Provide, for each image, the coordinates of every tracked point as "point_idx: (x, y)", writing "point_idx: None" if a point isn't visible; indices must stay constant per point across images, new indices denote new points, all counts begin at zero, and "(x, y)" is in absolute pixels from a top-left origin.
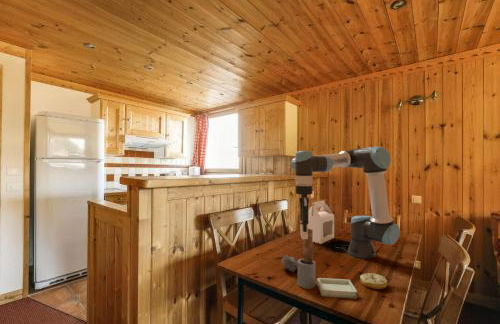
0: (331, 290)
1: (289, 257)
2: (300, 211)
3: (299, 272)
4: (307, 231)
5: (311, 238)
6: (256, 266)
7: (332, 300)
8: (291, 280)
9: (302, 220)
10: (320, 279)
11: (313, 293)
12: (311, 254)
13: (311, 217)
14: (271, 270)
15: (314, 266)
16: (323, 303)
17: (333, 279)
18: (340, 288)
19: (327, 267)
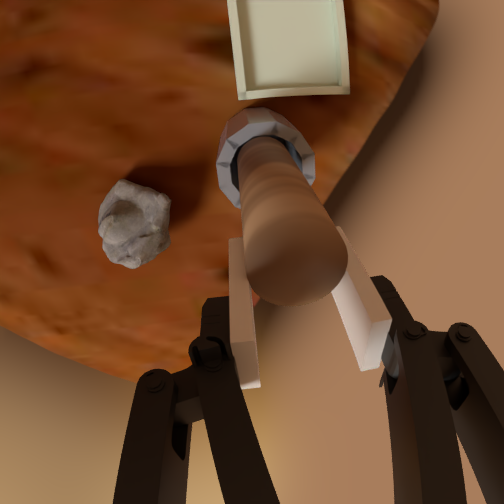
0: (347, 57)
1: (144, 245)
2: (184, 493)
3: None
4: (363, 269)
5: (314, 196)
6: (156, 322)
7: (363, 60)
8: None
9: (450, 391)
10: (245, 86)
11: (326, 118)
12: (289, 155)
13: None
14: (169, 276)
15: (286, 124)
16: (386, 95)
17: (237, 31)
18: (286, 13)
19: (57, 65)
